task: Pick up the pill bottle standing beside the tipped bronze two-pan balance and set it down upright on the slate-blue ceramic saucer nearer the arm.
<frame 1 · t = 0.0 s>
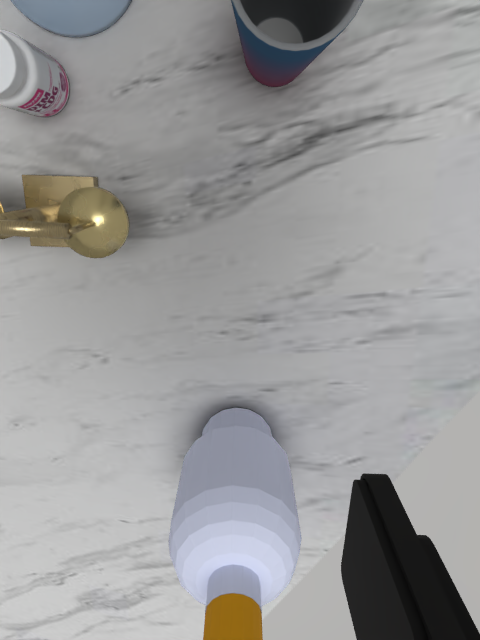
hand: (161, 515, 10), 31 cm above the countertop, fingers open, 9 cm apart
balance: (66, 211, 38), on the countertop
soap bottle: (237, 434, 46), on the countertop
cup: (275, 52, 34), on the countertop
pill bottle: (43, 86, 35), on the countertop
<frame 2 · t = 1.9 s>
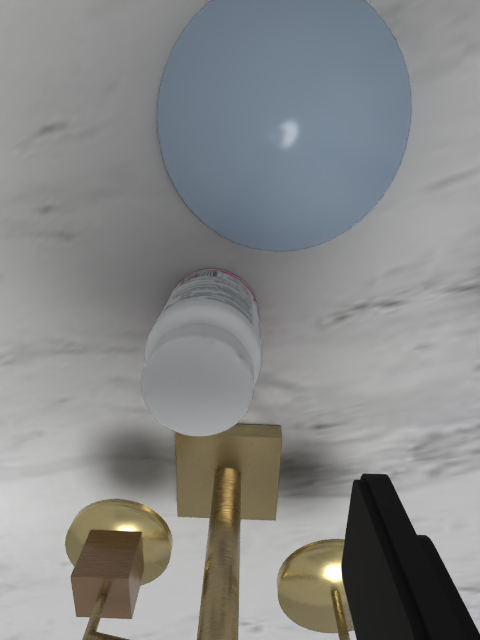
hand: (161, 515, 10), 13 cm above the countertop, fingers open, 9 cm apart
saucer: (281, 127, 20), on the countertop
balance: (228, 465, 26), on the countertop
pill bottle: (214, 309, 23), on the countertop
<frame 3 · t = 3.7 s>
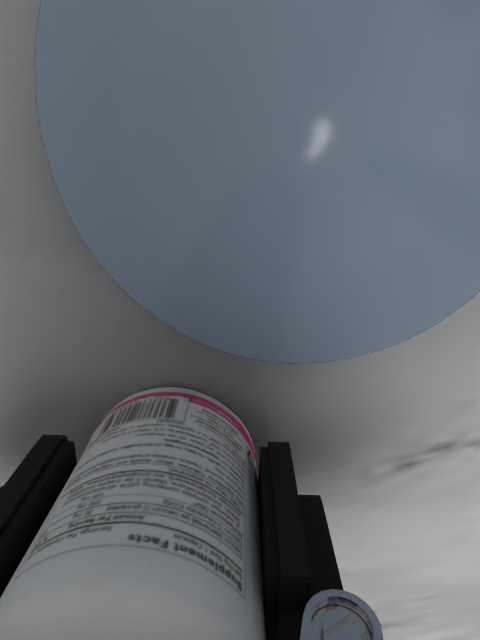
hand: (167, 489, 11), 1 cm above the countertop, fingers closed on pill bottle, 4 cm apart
saucer: (303, 120, 10), on the countertop
pill bottle: (177, 450, 13), on the countertop, touching gripper
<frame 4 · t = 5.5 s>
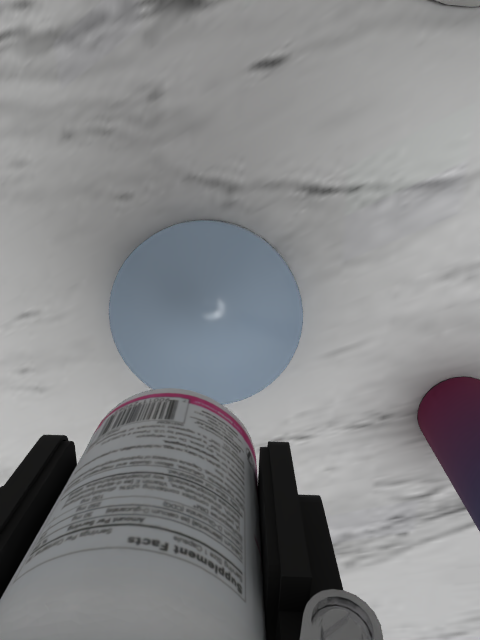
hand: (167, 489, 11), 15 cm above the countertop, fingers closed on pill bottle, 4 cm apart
saucer: (207, 314, 25), on the countertop
cup: (455, 410, 28), on the countertop
pill bottle: (177, 451, 13), point 13 cm above the countertop, touching gripper
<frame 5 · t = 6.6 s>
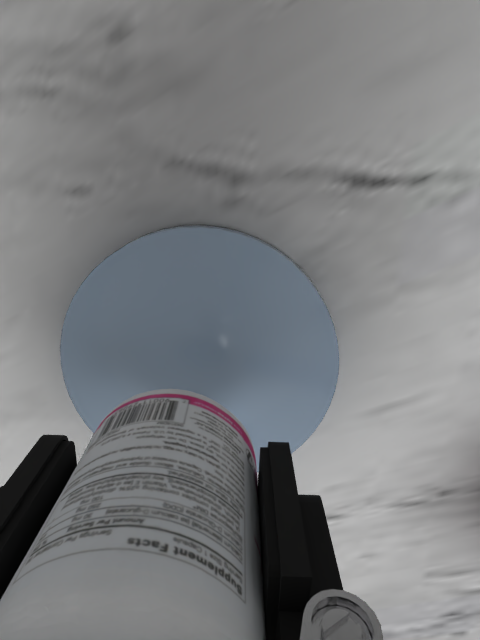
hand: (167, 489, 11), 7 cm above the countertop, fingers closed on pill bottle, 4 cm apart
saucer: (202, 358, 18), on the countertop
pill bottle: (177, 452, 13), point 6 cm above the countertop, touching gripper
when the fingers open (4 cm above the countertop, at t = 7.5 s): pill bottle drops 1 cm, resting on saucer.
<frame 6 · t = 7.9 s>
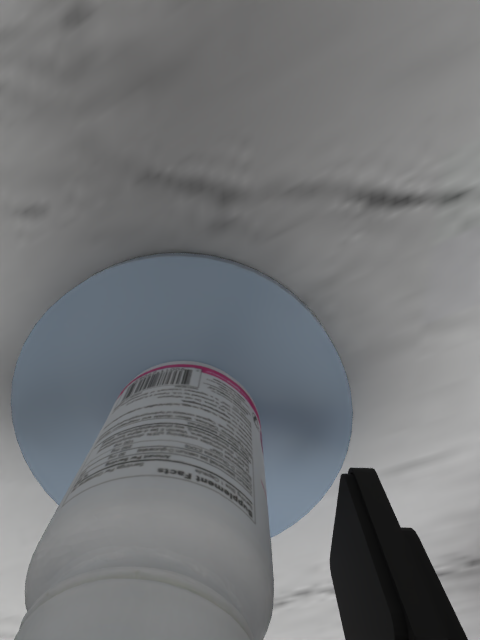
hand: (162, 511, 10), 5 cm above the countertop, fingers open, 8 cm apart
saucer: (186, 410, 15), on the countertop
pill bottle: (189, 420, 14), point 1 cm above the countertop, touching saucer
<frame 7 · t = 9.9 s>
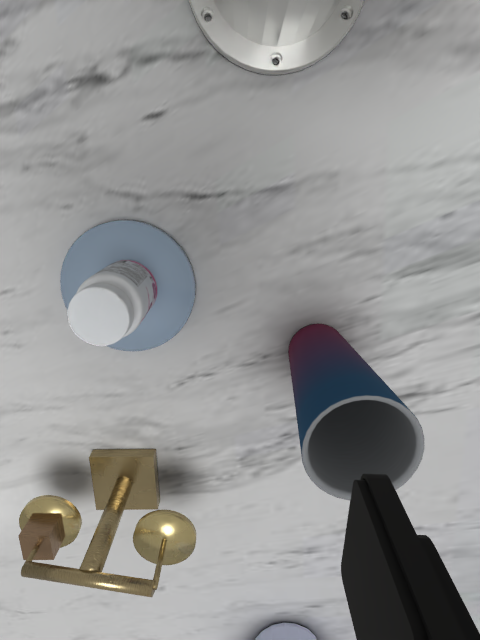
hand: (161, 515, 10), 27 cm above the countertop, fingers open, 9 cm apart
saucer: (130, 286, 36), on the countertop
balance: (127, 475, 42), on the countertop
cup: (316, 349, 38), on the countertop
pill bottle: (130, 287, 35), point 1 cm above the countertop, touching saucer
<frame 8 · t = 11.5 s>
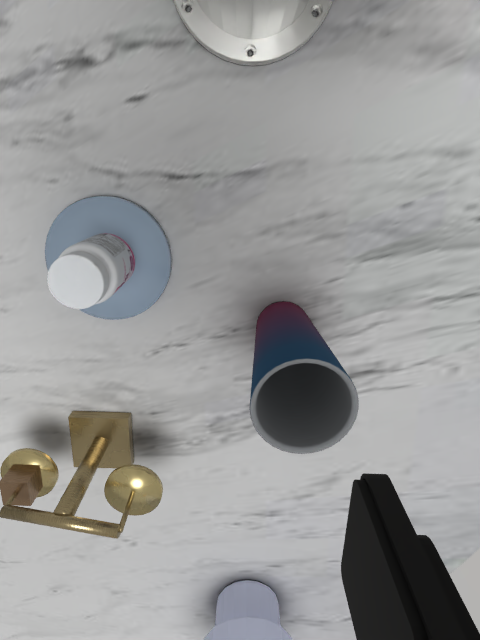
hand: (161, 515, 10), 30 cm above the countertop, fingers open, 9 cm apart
saucer: (111, 258, 39), on the countertop
balance: (104, 436, 45), on the countertop
soap bottle: (247, 598, 53), on the countertop
cup: (282, 325, 41), on the countertop
pill bottle: (110, 259, 38), point 1 cm above the countertop, touching saucer
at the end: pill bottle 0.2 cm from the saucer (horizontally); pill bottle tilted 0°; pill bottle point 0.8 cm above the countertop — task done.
